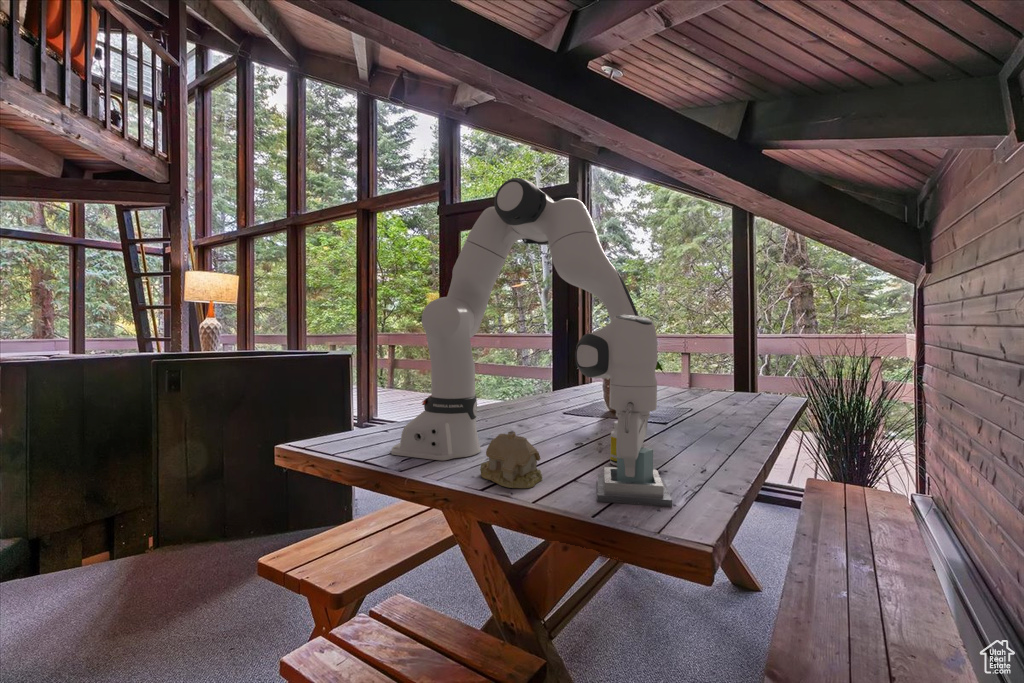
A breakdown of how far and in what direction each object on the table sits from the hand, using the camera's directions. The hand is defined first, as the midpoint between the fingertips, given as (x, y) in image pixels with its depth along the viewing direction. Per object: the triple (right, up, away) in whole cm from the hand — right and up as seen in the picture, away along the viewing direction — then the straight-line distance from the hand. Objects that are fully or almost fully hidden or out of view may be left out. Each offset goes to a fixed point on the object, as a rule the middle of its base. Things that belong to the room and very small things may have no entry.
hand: (632, 471), depth 93 cm
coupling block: (+1, -3, 0) cm, 3 cm away
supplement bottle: (+3, -4, +20) cm, 21 cm away
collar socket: (0, -4, 0) cm, 4 cm away
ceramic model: (-23, -4, +8) cm, 25 cm away
